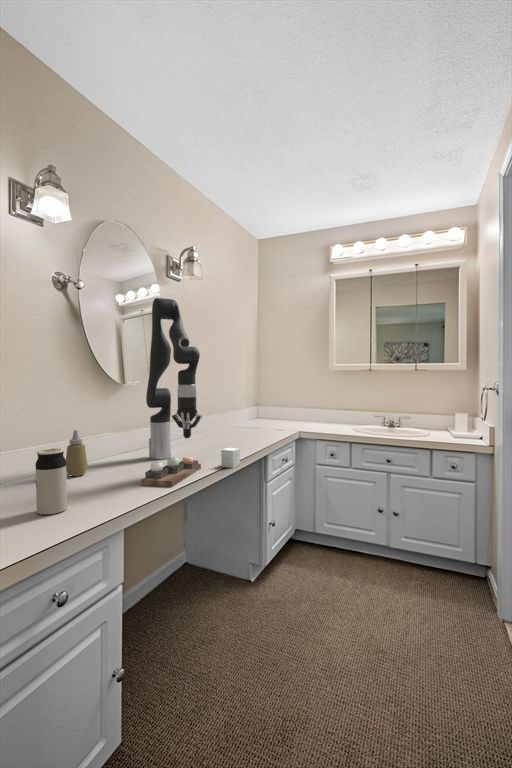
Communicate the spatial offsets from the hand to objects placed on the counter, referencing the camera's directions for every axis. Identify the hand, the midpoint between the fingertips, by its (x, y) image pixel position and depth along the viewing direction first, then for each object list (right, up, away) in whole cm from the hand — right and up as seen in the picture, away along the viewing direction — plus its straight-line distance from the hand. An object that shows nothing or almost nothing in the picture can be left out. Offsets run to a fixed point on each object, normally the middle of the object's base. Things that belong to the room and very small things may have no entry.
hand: (187, 438), depth 164 cm
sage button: (-4, -10, -7) cm, 13 cm away
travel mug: (-32, -16, -45) cm, 58 cm away
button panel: (-4, -14, -7) cm, 16 cm away
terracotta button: (0, -11, 0) cm, 11 cm away
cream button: (-9, -10, -14) cm, 20 cm away
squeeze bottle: (-44, -15, -4) cm, 46 cm away
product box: (+17, -14, +10) cm, 24 cm away
